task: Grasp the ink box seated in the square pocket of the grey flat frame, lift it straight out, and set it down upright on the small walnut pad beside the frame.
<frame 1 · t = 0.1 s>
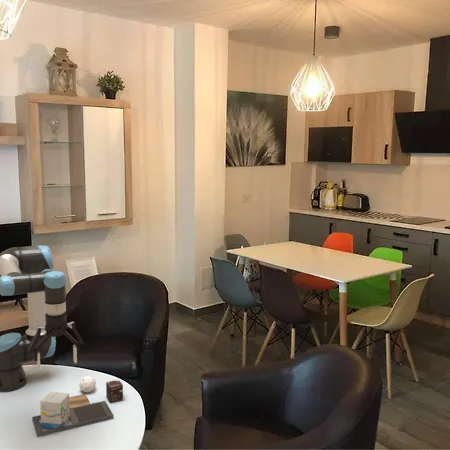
hand: (57, 365, 195), 28 cm above the table, fingers open, 13 cm apart
ornament: (87, 391, 231), on the table
ink box: (55, 424, 204), resting in grey flat frame
box: (114, 399, 225), on the table
grey flat frame: (73, 419, 207), on the table
pad: (76, 403, 220), on the table
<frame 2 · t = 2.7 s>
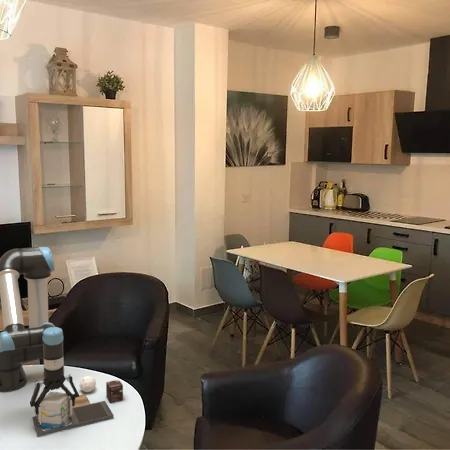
hand: (55, 417, 204), 3 cm above the table, fingers closed on ink box, 11 cm apart
ink box: (55, 424, 204), resting in grey flat frame, touching gripper
everything else where it was.
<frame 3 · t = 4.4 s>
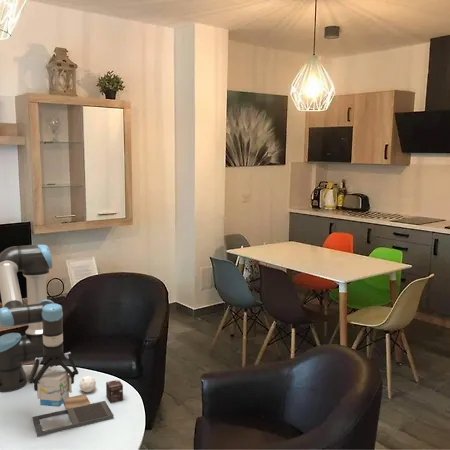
hand: (54, 394, 202), 13 cm above the table, fingers closed on ink box, 11 cm apart
ink box: (54, 401, 203), point 9 cm above the table, touching gripper
everything else where it was.
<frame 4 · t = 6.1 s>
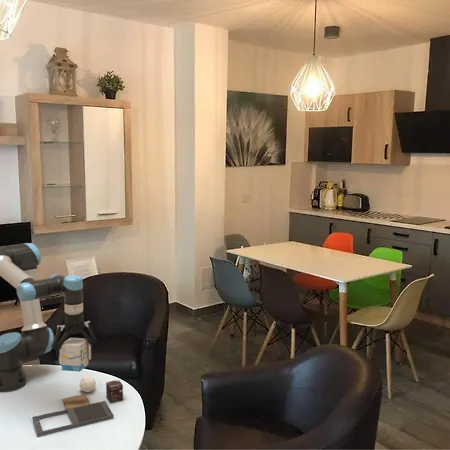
hand: (75, 360, 216), 20 cm above the table, fingers closed on ink box, 11 cm apart
ink box: (75, 367, 216), point 17 cm above the table, touching gripper
everything else where it was.
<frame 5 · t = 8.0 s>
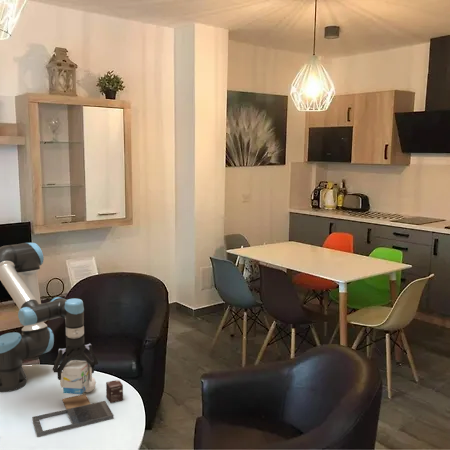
hand: (76, 383, 218), 10 cm above the table, fingers closed on ink box, 11 cm apart
ink box: (76, 390, 218), point 7 cm above the table, touching gripper
everything else where it was.
when the fingers open (5 cm above the table, at t = 9.6 s): ink box drops 1 cm, resting on pad, grey flat frame.
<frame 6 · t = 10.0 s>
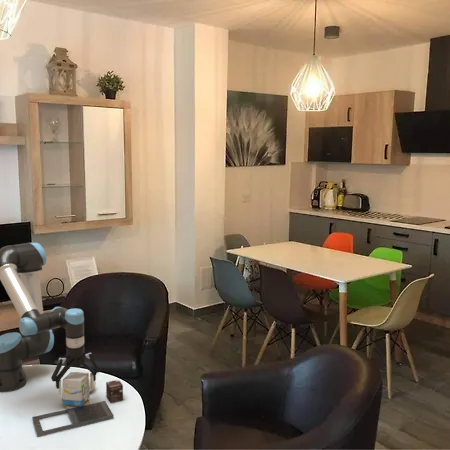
hand: (76, 391, 219), 6 cm above the table, fingers open, 13 cm apart
ink box: (76, 401, 219), point 1 cm above the table, touching pad, grey flat frame
everything else where it was.
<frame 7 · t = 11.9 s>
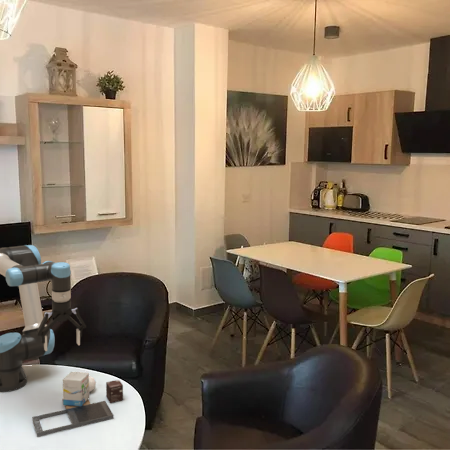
hand: (62, 347, 215), 26 cm above the table, fingers open, 13 cm apart
nothing on the table moved.
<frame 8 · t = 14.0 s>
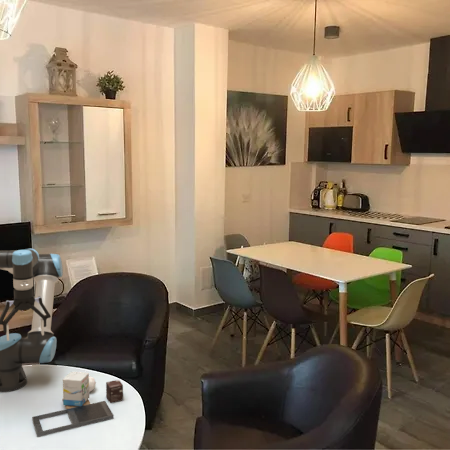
hand: (25, 336, 211), 32 cm above the table, fingers open, 13 cm apart
nothing on the table moved.
at the end: ink box inside the target area on the pad (0.3 cm from its centre), point 1.1 cm above the pad's base; ink box tilted 3°; the gripper is holding nothing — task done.
